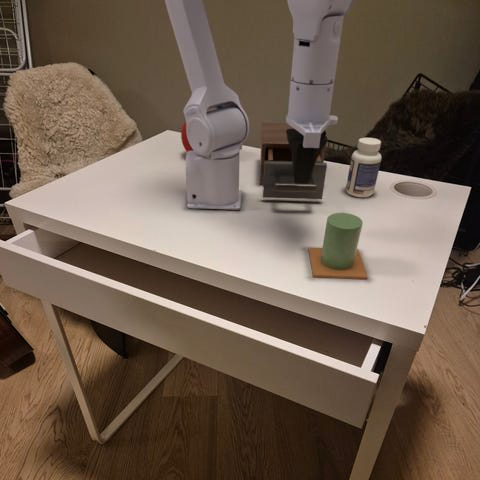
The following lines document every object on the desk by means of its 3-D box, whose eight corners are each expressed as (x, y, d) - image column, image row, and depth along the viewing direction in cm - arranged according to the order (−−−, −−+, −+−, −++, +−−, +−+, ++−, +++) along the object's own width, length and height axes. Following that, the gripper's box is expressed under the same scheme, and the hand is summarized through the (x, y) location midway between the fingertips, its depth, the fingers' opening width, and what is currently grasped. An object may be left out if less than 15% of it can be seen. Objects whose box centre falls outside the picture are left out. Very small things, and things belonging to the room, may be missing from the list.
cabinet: (319, 186, 83) (326, 144, 78) (259, 184, 83) (261, 142, 78) (313, 162, 93) (318, 124, 88) (260, 161, 94) (262, 122, 89)
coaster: (312, 277, 58) (313, 274, 58) (308, 249, 64) (308, 247, 64) (367, 279, 58) (367, 276, 58) (357, 251, 64) (358, 249, 64)
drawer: (324, 209, 73) (330, 174, 69) (262, 207, 73) (264, 171, 69) (315, 174, 86) (319, 142, 82) (262, 172, 86) (264, 140, 82)
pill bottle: (378, 193, 81) (391, 141, 75) (361, 200, 78) (373, 147, 72) (357, 184, 84) (367, 134, 78) (339, 191, 82) (348, 139, 75)
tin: (322, 269, 59) (329, 228, 55) (318, 252, 63) (325, 212, 59) (356, 270, 59) (365, 229, 55) (350, 253, 63) (359, 213, 59)
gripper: (352, 93, 49) (333, 202, 57) (335, 71, 60) (322, 165, 69) (292, 92, 49) (282, 201, 58) (286, 69, 60) (279, 164, 69)
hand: (301, 181), depth 63 cm, fingers closed
